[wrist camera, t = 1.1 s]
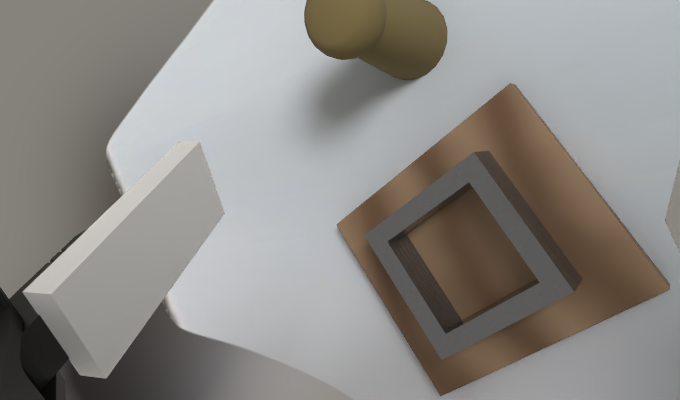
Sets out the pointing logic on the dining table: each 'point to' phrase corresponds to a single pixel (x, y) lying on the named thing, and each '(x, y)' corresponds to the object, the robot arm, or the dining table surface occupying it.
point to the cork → (379, 33)
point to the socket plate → (496, 246)
